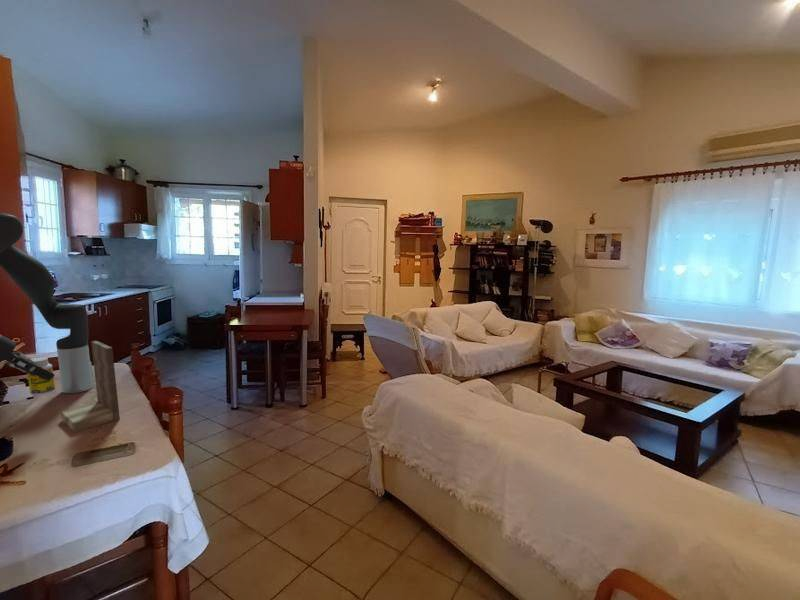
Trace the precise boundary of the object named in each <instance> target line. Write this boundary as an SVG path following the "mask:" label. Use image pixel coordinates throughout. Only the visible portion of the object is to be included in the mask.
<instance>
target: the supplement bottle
mask: <svg viewBox="0 0 800 600" xmlns="http://www.w3.org/2000/svg"><path fill="white" fill-rule="evenodd" d="M31 360H32V361H34V362H35V364H36V365H38V366H41V367H42V368H43V369H45V370H47V371H49V372H51V373H53V374H54V369H53V364H51V363H49V358H48V357H36V358H33V359H31ZM35 369H36V367H32V368H31V369H30V371H32V372H33V371H34V370H35ZM26 373H27V379H28V388H29V394H30V395H32V396H42V395H47V394H50V393H52V392H54V391H55V389H56V385H55V376H54V377H53V378H52V379H51V380H50V381H47V380H45V379H43V378H41V377H39V376H37V375H35V376H34V375H32V374H30V373H28V372H26Z"/></svg>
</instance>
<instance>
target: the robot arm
mask: <svg viewBox="0 0 800 600" xmlns="http://www.w3.org/2000/svg"><path fill="white" fill-rule="evenodd" d="M23 234H24V227H23V223H22V222H21V220H20V219H19V218H18V217H17V216H15V215H12V214H9V213H4V212H3V213H2V212H0V267H1V268H2V270H3V271H5V273H7V275H8V276H9V277H10V278H11V279H12V281H13V282H14V283H15V284H16V285H17V286H18V288H19V289H20V290H21V291H22V292H23V293H24V294H25V295H26V296H27V297H28V298H29V300H30V301H31V302H32V303H33V305H34V306H35V307H36V308H37V310H38V312H40V314H41V316H42V318H43V319H44V320H45V322H46V323H47V325H49V326H50V327H51V328H52V329H58V330H69V331H70V332H69V335H67V336H64V337H62V338H59V339H57V341H56V342H55V345H56V346H55V347H56V352H57V353H56V354H57V359H58V367H59V376H60V383H61V384H60V385H61V390H62V393H63V394H68V393H69V394H78V393H82V392H85V391H88V390H91V389H93V387H94V385H95V381H94V373H93V372H94V369H93V365H92V364H93V361H91V359H90V358H91V357H90V350H89V317H88V310H87V309H86V307H85V306H84V305H83V304H80V303H79V304H77V303H76V304H75V303H72V304H71V303H70V304H69V303H68V304H67V303H66V304H61V303H59V302H58V301H56V299H55V298H54V297H53V293H54V290H55V287H56V281H55V278H54V276H53V275H52V274H51V272H50V271H49V270H48V268H47V267H46V266H45V264H43V262H41V261H39V260H38V259H37V258H35V257H33V256H31V255H30V254H29V253H26V252H25V251H23V250H21V249H19V248H18V247H17V246H14V244H16V243H17V242H18V241H19V240H20V239H21V237H23ZM16 347H17V343H16V341H13V340H11V339H10V338H8V337H6V336H4V335H2V334H0V363H2V362H3V361H6V362H5V364H7V366H9V367H12V368H15V369H17V370H19V371H21V372H23V373H27V372H28V373H30V374H32V375H34V376H35V375H37V376H39V377H41V378H43V379H45V380H47V381H50V380H51V379H52V378H53V377H54V378H55V374H54V372H53V373H51V372H49V371H47V370H45V369H43V368H42V367H41V366H38V365H36V364H35V362H34V361H32V359H31V358H30V357H29V356H27V355H25V354H24V353H22V352H21V351H19V350H18V351H16V350H15V348H16ZM32 367H36V369H35V370H34V371H33V372H32V371H30V369H31V368H32ZM28 373H27V374H28Z"/></svg>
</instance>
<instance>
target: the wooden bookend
mask: <svg viewBox="0 0 800 600" xmlns="http://www.w3.org/2000/svg"><path fill="white" fill-rule="evenodd" d="M90 343H91V344H90V345H91V353H92V354H91V355H92V363H93V372H94V378H95V386H96V396H97V397H96V398H97V402H93V403H89V404H86V405H81V406H77V407H73V408H71V409H65V410H63V411H60V413H61V421H62V422H63V423H64V424H65V425H67V427H68V428H69V429H71V430H72V431H73V432H74V433H79V432H82V431H85V430H87V429H92V428H94V426H95V427H97V425H98V426H101V425H104V424H103V423H105V424H107V422H108V423H111V422H117V421H119V419H121V417H120V408H119V400H118V399H119V397H118V389H117V380H116V370H115V361H114V360H115V359H114V350H113V347H112V346H109V345H107V344H105V343H103V342H100V341H98V340H93V341H92V340H91V341H90ZM110 421H111V422H110ZM100 424H101V425H100ZM91 427H92V428H91Z"/></svg>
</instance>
